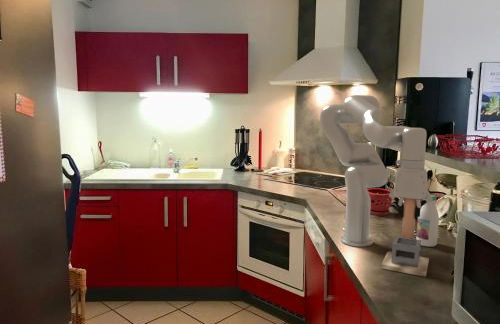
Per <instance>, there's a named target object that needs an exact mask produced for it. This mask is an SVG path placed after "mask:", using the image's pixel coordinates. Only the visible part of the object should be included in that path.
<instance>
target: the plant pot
mask: <svg viewBox="0 0 500 324" xmlns="http://www.w3.org/2000/svg"><path fill="white" fill-rule="evenodd" d="M391 191H392V190H390V189H386V188H385V189H384V188H380V187H374V188H367V192H368V194H369V196H370V199H371V208H370V215H374V216H386V215H388V214H390V207H391V205H392V201H393V199H392V198H391V197H389V194H390V193H391Z"/></svg>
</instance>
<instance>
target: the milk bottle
mask: <svg viewBox="0 0 500 324" xmlns="http://www.w3.org/2000/svg"><path fill="white" fill-rule="evenodd" d="M430 195H431V196H432V198H433V200H432V201H430V202H428V203H426V204H425V205H423V206H422V207H421V208H420V217H418V218H417V226H416V236H415V238H416V239H417V240H421V246H423V247H436V246H437V244H438V235H439V223H440V222H439V221H440V219H439V218H440V217H439V211H438V209H437V206H436V202H437V196H436V195H434V194H430ZM425 199H427V196H426V198H425ZM425 199H423V200H425Z"/></svg>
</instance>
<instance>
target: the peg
mask: <svg viewBox="0 0 500 324" xmlns="http://www.w3.org/2000/svg"><path fill="white" fill-rule="evenodd" d="M403 203H404V204H403V205H404V208H403V217H402V223H401V224H402V226H401V237H403V238H410V239H415V233H416V232H415V230H416V229H415V228H416V219H415V208H416V206H417V201H416V199H407V198H404V201H403Z"/></svg>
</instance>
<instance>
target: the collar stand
mask: <svg viewBox="0 0 500 324" xmlns="http://www.w3.org/2000/svg"><path fill="white" fill-rule="evenodd" d="M421 248H422V245H421V240H417V239H415V238H404V237H402V236H395V237H394V239H393V242H392V247H391V251H390V250H389V251H387V252H386V253H385V256H384V258H383V260H382V262H381V264H380V265H381V267H380V268H381V269H383V270H387V271H393V272H399V273H403V274H404V273H405V274H410V275H414V276H415V275H416V276H420V277H427V273H428V267H429V264H430V263H429V262H430V258H429V257H426V256H425V257H424V256H421Z"/></svg>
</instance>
